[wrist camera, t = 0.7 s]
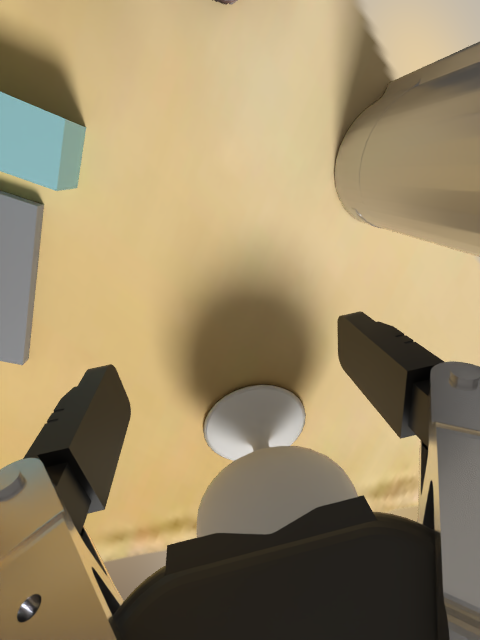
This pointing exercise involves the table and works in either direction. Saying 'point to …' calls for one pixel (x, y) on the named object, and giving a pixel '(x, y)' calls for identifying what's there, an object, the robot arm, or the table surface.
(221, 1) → the flask
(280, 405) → the chalice
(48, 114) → the batten
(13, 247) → the fulcrum
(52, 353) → the table surface
